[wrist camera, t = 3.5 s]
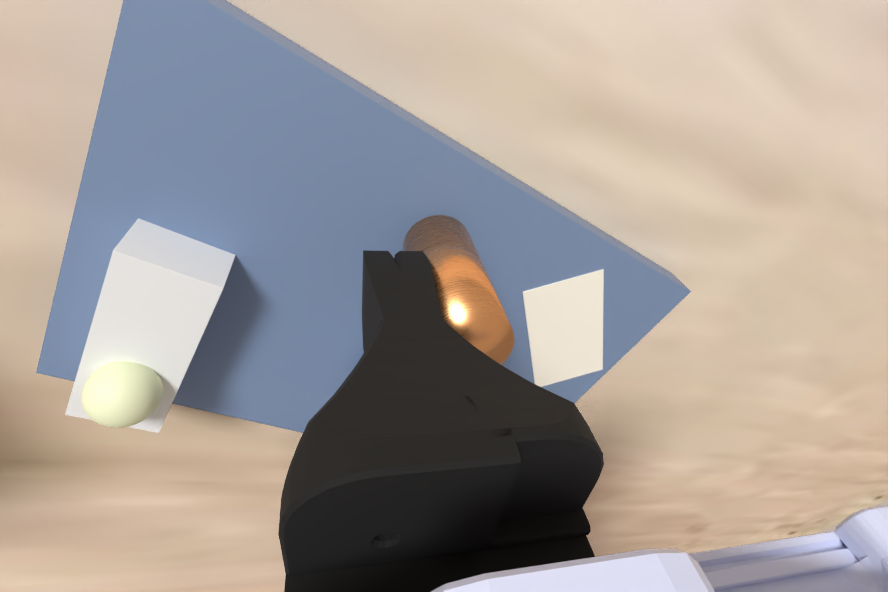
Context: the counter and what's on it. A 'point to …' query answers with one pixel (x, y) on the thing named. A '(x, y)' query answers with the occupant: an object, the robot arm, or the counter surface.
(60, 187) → the counter surface
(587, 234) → the plate
